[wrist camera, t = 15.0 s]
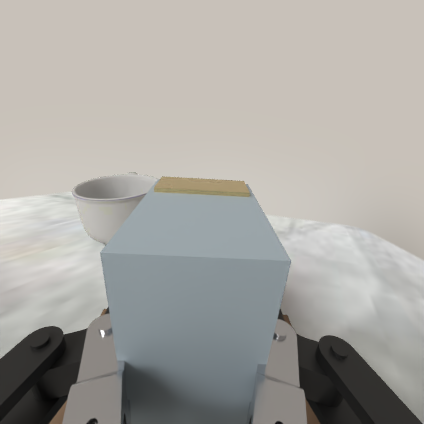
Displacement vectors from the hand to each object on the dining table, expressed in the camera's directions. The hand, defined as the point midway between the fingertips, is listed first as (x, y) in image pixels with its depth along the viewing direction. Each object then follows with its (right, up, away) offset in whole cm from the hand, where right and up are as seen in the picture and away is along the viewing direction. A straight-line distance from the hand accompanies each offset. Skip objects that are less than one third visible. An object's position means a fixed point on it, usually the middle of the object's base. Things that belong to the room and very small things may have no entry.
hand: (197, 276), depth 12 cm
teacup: (-12, +1, +22) cm, 25 cm away
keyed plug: (0, -7, +1) cm, 7 cm away
